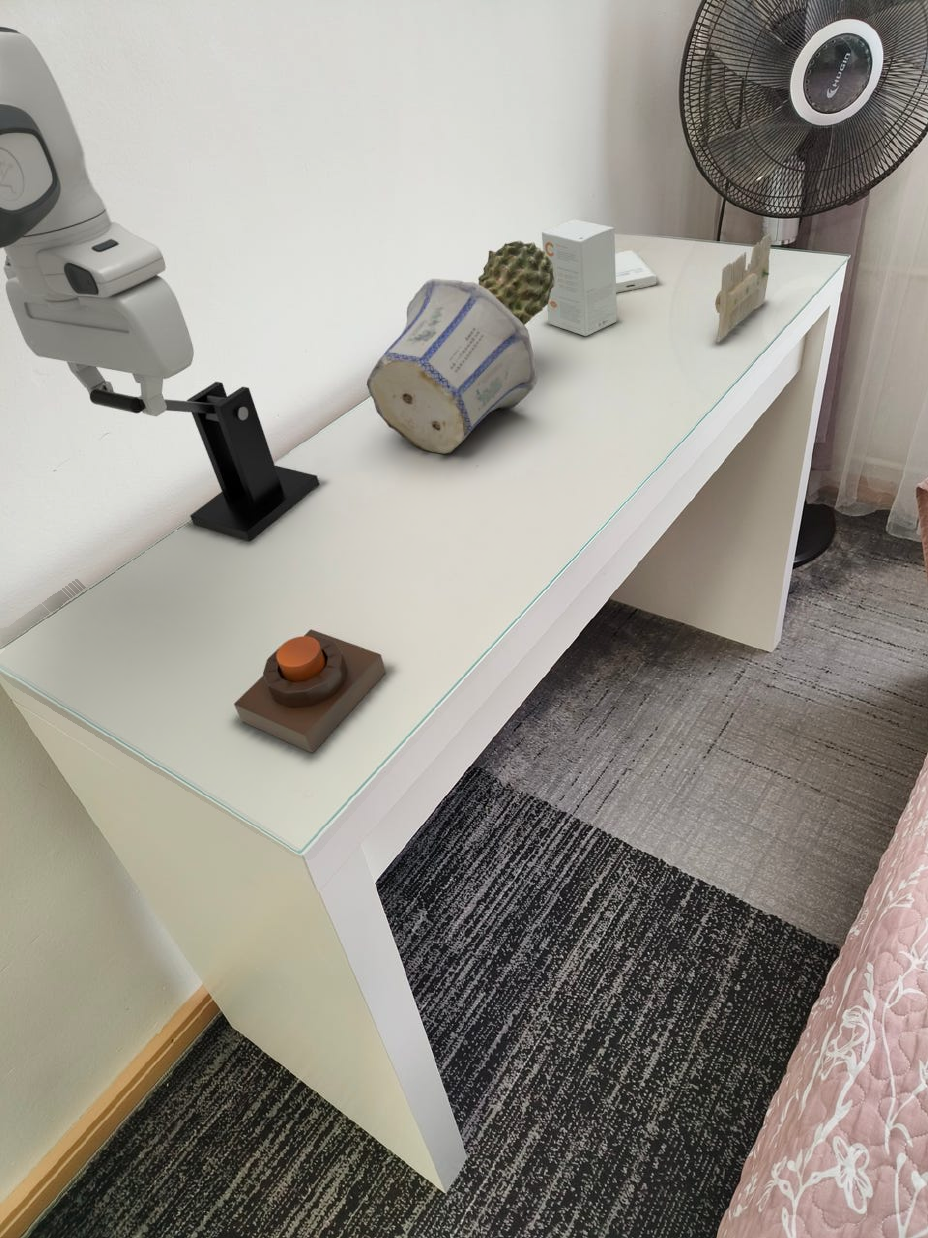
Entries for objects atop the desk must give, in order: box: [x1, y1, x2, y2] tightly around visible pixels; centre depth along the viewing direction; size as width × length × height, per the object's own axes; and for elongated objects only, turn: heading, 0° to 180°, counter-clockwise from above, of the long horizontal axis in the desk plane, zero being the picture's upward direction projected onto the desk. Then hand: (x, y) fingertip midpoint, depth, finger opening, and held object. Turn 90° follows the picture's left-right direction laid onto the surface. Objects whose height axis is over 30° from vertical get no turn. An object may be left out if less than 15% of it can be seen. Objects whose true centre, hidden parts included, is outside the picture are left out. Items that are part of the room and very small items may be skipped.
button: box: [276, 635, 325, 682], centre depth 69 cm, size 4×4×2 cm
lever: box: [89, 389, 226, 421], centre depth 85 cm, size 15×6×2 cm
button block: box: [233, 629, 387, 754], centre depth 71 cm, size 10×8×4 cm
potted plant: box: [366, 240, 555, 455], centre depth 102 cm, size 18×18×30 cm
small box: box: [541, 218, 618, 337], centre depth 118 cm, size 8×6×13 cm
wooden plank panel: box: [714, 233, 772, 343], centre depth 112 cm, size 15×2×10 cm, turn 144°
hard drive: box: [615, 249, 658, 294], centre depth 133 cm, size 2×8×12 cm
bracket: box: [186, 381, 320, 542], centre depth 93 cm, size 12×9×14 cm
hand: (130, 407), depth 80 cm, fingers closed on lever, 6 cm apart
